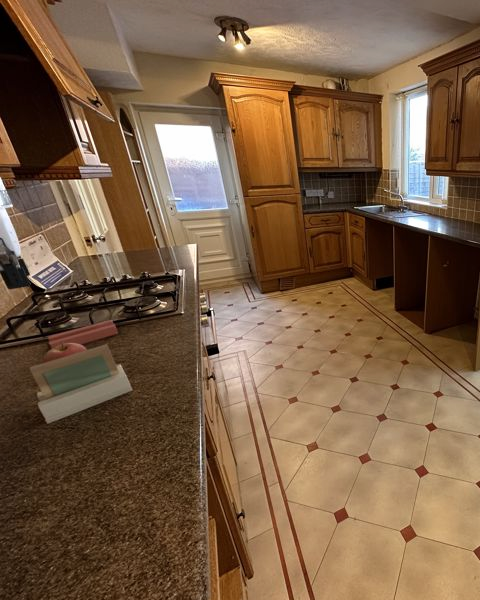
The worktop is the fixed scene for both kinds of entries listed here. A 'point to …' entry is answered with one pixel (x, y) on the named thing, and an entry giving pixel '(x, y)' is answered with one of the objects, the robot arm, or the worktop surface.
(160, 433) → the worktop surface
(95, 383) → the holder
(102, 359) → the frame
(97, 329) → the stand
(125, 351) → the worktop surface
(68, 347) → the apple
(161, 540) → the worktop surface
